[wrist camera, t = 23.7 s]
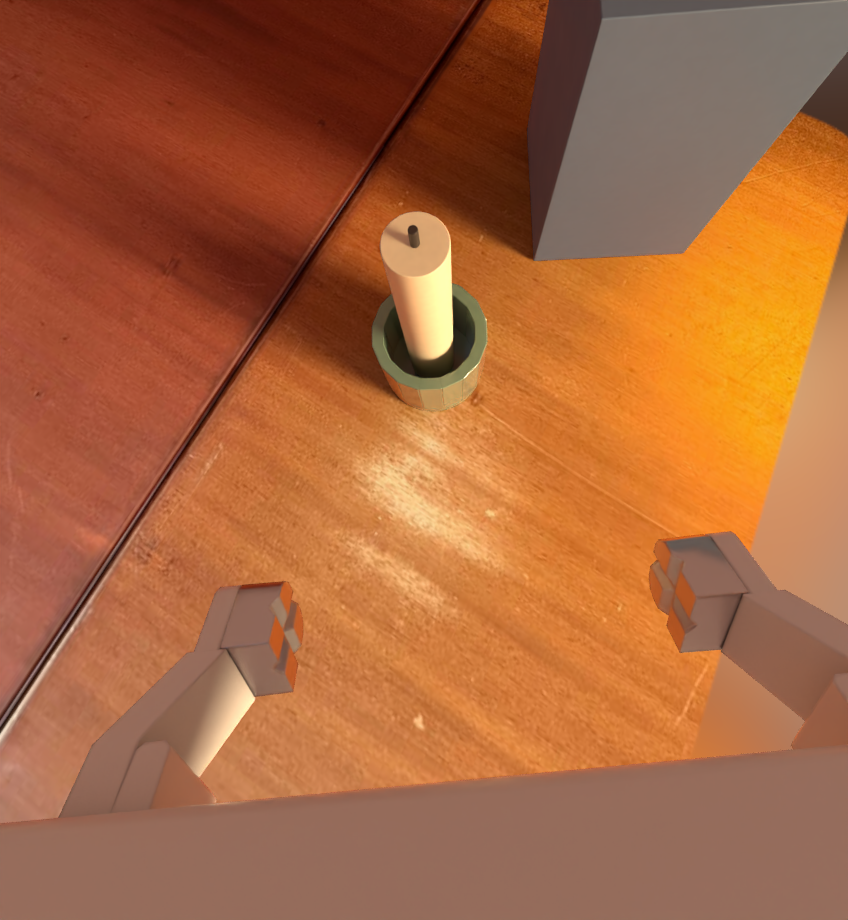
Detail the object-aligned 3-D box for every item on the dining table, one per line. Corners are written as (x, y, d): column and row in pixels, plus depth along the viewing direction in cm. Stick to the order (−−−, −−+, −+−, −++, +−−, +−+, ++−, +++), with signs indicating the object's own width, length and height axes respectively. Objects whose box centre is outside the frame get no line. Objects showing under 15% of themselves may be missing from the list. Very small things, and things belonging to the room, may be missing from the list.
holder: (480, 315, 35) (485, 275, 30) (484, 409, 34) (489, 387, 29) (384, 319, 36) (371, 281, 30) (385, 413, 35) (372, 391, 29)
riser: (671, 119, 36) (856, -237, 19) (683, 253, 35) (893, -4, 18) (526, 129, 37) (584, -208, 20) (533, 261, 35) (601, 19, 19)
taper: (446, 334, 34) (438, 185, 19) (459, 373, 34) (459, 251, 19) (406, 346, 34) (366, 207, 20) (418, 385, 34) (386, 274, 19)
